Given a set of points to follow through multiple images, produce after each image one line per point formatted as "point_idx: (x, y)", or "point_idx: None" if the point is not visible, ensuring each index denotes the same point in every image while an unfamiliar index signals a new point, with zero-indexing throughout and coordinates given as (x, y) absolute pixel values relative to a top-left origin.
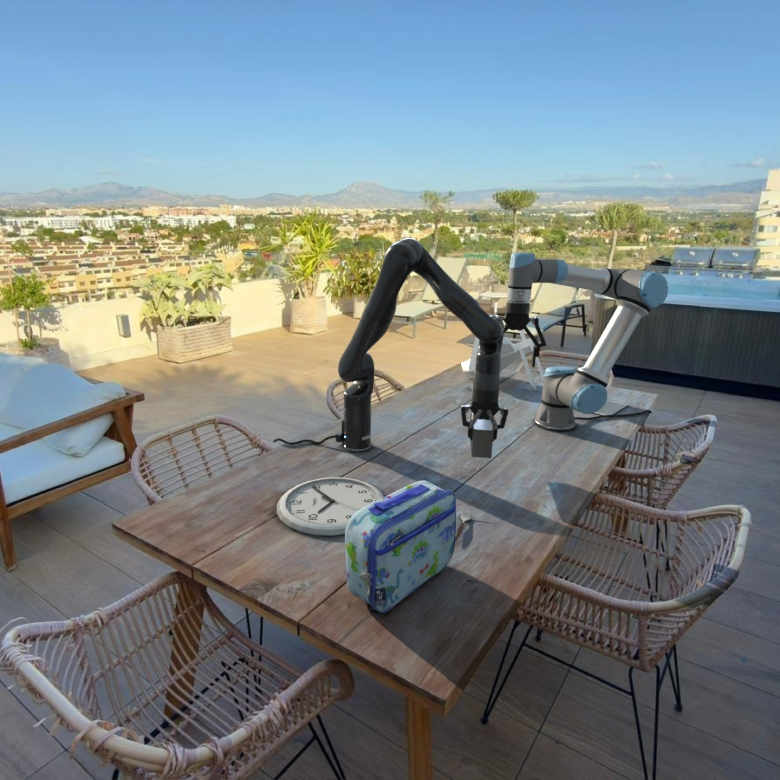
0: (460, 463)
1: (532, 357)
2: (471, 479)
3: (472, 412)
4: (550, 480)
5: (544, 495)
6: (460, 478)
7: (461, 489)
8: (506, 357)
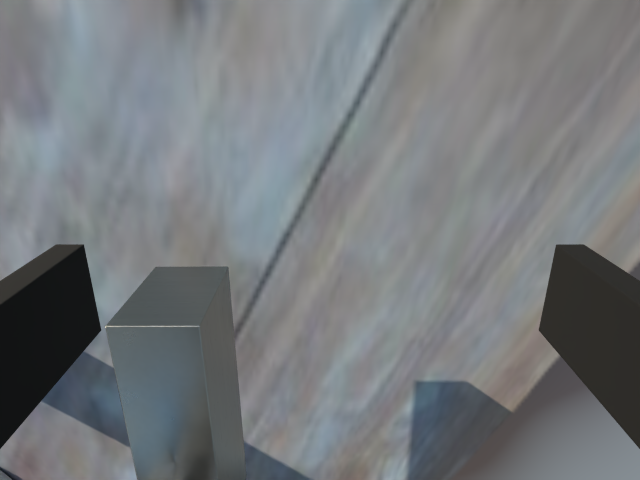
0: None
1: (614, 327)
2: None
3: (128, 425)
4: (425, 371)
5: (390, 440)
6: None
7: None
8: None
